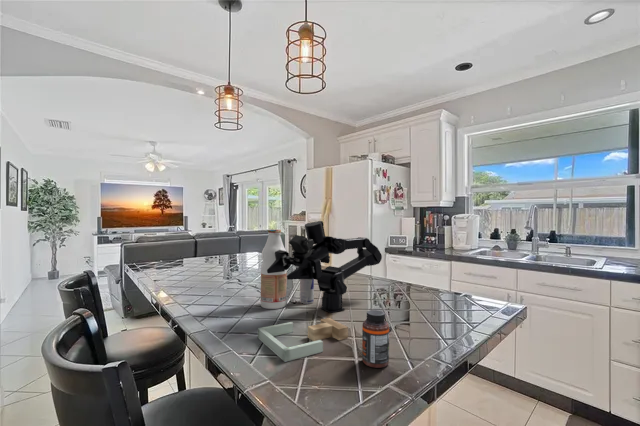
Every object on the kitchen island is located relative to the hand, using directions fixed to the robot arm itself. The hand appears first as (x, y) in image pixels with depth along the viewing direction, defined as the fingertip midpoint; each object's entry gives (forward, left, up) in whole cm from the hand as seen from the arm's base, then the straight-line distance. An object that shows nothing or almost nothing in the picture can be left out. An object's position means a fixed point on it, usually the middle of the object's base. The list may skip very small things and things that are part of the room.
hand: (277, 274), depth 91 cm
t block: (-8, +13, -16) cm, 22 cm away
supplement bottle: (-9, +32, -16) cm, 37 cm away
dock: (+3, +13, -15) cm, 20 cm away
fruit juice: (-8, -21, -16) cm, 27 cm away
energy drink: (-21, -19, -16) cm, 33 cm away
